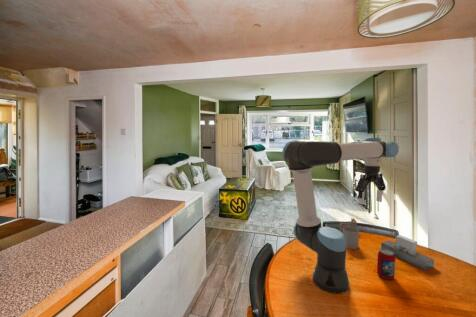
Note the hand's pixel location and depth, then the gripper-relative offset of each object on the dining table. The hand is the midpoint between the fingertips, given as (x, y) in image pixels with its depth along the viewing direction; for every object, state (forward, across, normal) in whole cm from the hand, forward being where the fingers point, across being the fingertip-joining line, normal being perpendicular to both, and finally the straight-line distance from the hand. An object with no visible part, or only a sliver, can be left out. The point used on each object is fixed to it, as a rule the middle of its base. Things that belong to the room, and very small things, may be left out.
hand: (370, 202), depth 123 cm
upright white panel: (+28, +11, -13) cm, 33 cm away
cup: (+28, -5, +8) cm, 30 cm away
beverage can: (+28, -14, -21) cm, 38 cm away
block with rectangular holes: (+28, +12, -13) cm, 33 cm away
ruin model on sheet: (+28, +8, +22) cm, 37 cm away
